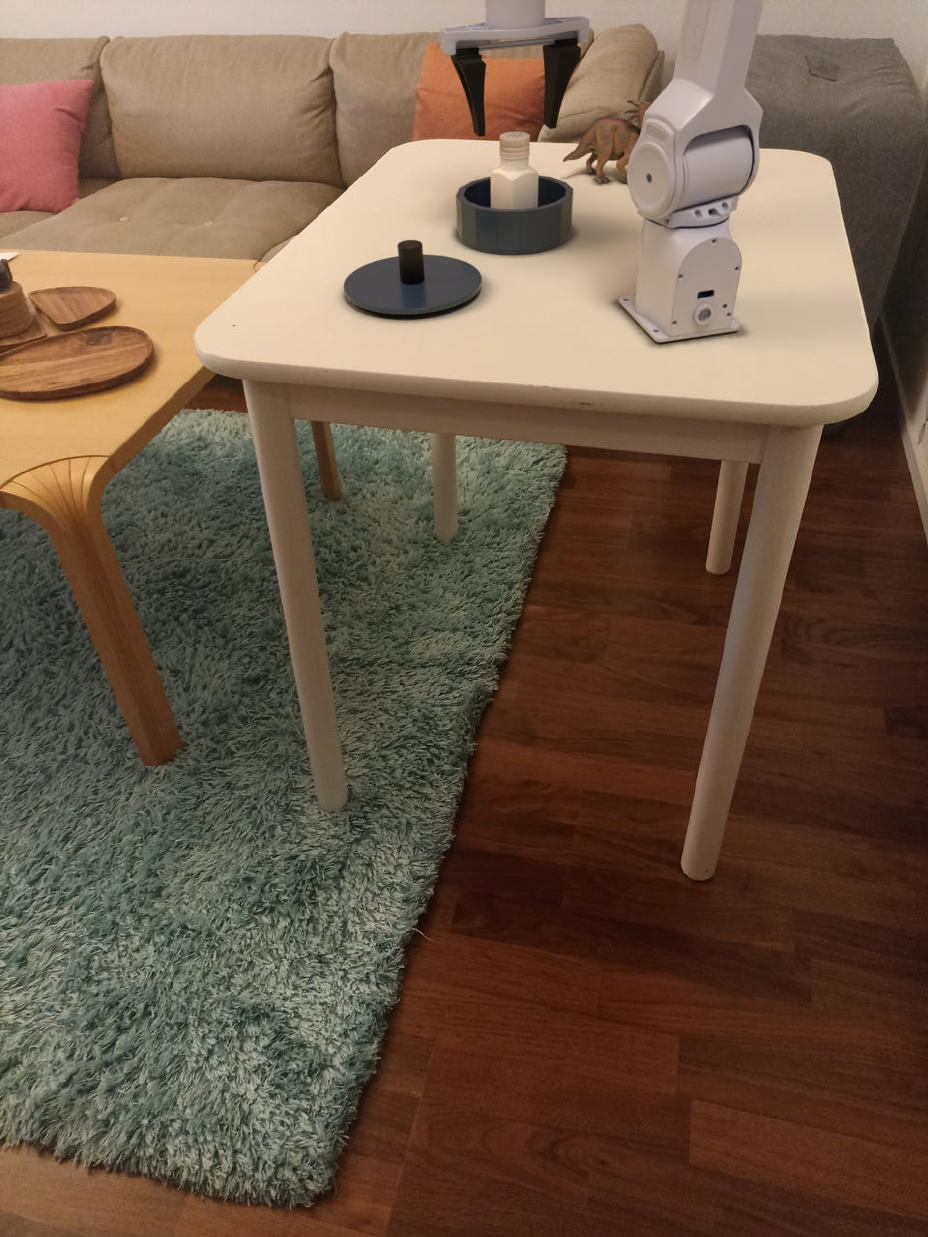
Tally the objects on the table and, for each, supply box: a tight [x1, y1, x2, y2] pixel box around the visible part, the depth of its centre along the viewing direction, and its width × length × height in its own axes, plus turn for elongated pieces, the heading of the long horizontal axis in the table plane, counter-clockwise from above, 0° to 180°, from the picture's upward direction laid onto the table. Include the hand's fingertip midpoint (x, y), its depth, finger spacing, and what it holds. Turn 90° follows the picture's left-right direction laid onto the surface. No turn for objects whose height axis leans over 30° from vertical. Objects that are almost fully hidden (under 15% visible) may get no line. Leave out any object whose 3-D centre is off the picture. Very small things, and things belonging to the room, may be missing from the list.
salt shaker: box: [490, 131, 539, 209], centre depth 93 cm, size 4×4×10 cm
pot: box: [455, 174, 574, 256], centre depth 95 cm, size 13×13×4 cm
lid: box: [343, 239, 483, 315], centre depth 84 cm, size 14×14×5 cm
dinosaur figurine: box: [562, 99, 652, 185], centre depth 106 cm, size 14×6×9 cm, turn 82°
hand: (514, 130), depth 89 cm, fingers open, 7 cm apart
